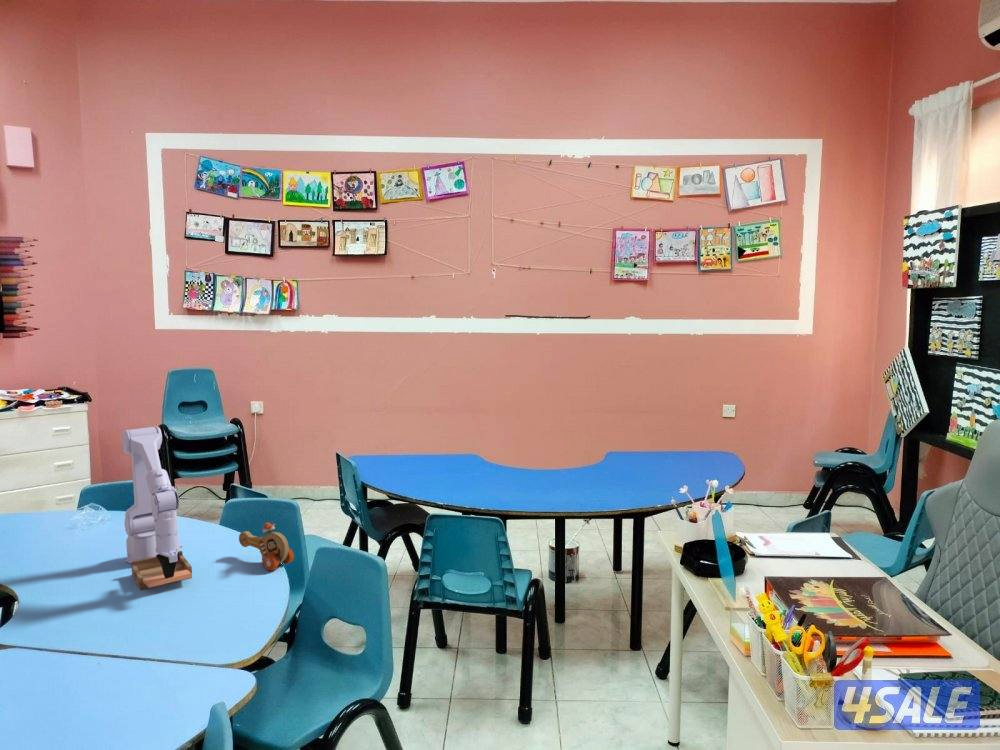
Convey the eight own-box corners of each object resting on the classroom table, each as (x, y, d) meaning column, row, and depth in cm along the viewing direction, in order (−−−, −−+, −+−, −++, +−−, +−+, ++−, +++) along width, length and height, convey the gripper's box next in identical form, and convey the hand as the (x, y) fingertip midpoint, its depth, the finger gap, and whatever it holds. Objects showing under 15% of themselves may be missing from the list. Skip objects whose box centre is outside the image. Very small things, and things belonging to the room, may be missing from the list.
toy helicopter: (276, 573, 209) (274, 530, 207) (230, 559, 219) (228, 517, 217) (297, 564, 216) (295, 521, 214) (251, 550, 226) (249, 510, 224)
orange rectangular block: (144, 579, 197) (148, 583, 193) (186, 569, 204) (191, 573, 200) (144, 583, 197) (148, 587, 193) (187, 573, 204) (191, 577, 200)
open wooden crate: (132, 576, 206) (131, 561, 206) (182, 564, 215) (181, 550, 214) (140, 590, 197) (139, 575, 196) (192, 577, 205) (191, 563, 205)
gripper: (188, 537, 192) (190, 583, 194) (175, 522, 203) (178, 565, 205) (160, 542, 188) (163, 590, 190) (149, 527, 199) (152, 571, 201)
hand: (169, 577), depth 197 cm, fingers closed, pressing on orange rectangular block
